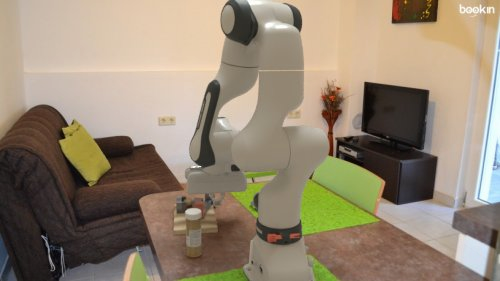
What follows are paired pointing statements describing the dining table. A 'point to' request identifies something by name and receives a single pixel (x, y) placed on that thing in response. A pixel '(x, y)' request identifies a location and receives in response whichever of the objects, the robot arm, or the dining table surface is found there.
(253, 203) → the ceramic mug
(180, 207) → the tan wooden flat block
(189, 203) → the brown ball
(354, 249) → the dining table surface
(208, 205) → the lever
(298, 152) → the robot arm
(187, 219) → the sprinkles bottle
